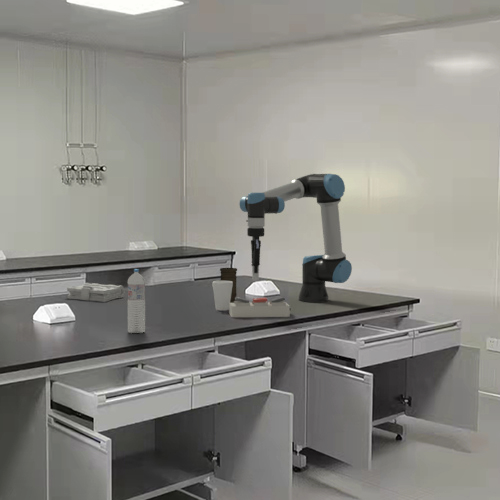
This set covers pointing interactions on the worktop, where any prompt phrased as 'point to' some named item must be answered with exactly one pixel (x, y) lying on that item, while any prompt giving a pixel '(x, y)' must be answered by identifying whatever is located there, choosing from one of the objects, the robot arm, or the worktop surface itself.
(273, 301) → the rocker
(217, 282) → the foam cup
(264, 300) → the plate
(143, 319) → the water bottle
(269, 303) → the switch panel
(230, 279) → the container
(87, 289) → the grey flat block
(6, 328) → the worktop surface
